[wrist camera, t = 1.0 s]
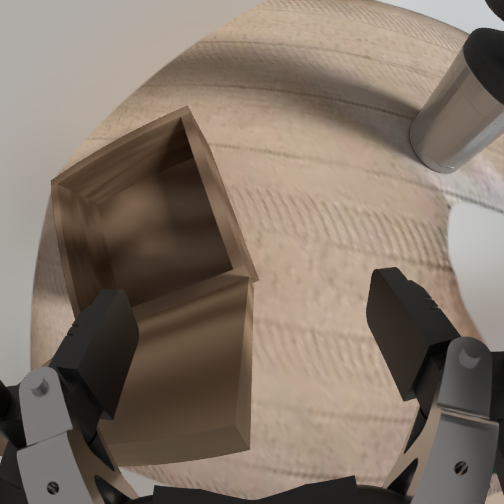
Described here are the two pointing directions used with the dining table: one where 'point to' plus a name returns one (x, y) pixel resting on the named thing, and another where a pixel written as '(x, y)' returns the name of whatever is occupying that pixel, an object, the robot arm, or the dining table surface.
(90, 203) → the wooden box
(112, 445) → the box lid
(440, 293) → the dining table surface
